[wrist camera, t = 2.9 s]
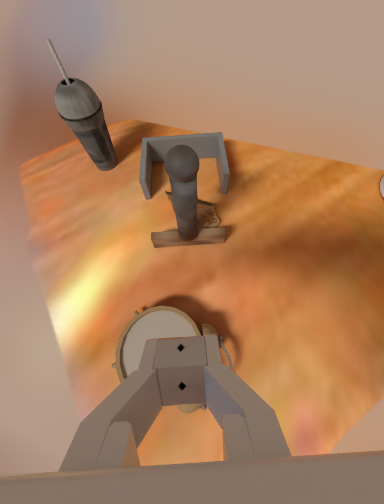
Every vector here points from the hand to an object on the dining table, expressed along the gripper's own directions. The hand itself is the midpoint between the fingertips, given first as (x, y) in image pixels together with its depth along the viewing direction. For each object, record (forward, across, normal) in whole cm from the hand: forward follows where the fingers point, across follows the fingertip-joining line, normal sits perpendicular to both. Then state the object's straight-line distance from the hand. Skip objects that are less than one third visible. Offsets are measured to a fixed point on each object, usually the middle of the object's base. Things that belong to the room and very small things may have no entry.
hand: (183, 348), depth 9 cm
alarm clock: (+16, -3, -16) cm, 23 cm away
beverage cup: (+43, -17, +12) cm, 48 cm away
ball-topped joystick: (+28, 0, -3) cm, 28 cm away
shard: (+32, 0, 0) cm, 32 cm away
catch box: (+39, 0, +9) cm, 40 cm away
